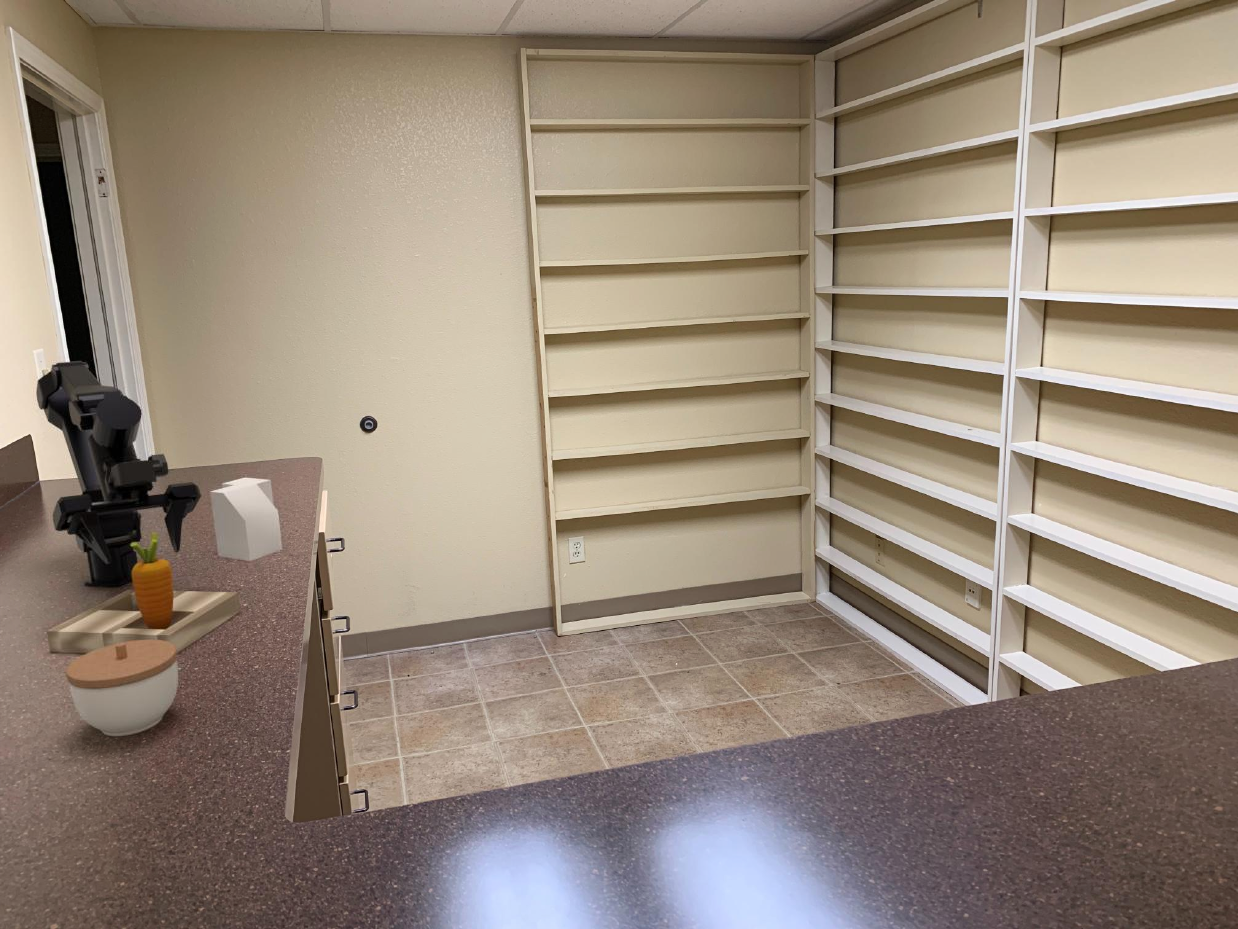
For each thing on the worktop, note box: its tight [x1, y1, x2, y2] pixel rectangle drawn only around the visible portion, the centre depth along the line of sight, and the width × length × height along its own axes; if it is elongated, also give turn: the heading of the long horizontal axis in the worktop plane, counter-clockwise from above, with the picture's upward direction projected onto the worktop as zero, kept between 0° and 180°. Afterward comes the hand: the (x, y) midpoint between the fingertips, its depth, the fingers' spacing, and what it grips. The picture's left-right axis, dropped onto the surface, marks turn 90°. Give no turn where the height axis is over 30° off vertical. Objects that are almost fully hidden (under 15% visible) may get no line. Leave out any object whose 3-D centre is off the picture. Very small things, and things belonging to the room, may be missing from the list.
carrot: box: [130, 532, 174, 630], centre depth 121 cm, size 5×5×15 cm
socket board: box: [46, 589, 241, 654], centre depth 126 cm, size 18×16×3 cm
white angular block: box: [209, 477, 283, 562], centre depth 163 cm, size 11×11×12 cm
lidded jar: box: [65, 640, 179, 737], centre depth 99 cm, size 11×11×9 cm
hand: (144, 557), depth 129 cm, fingers open, 9 cm apart
